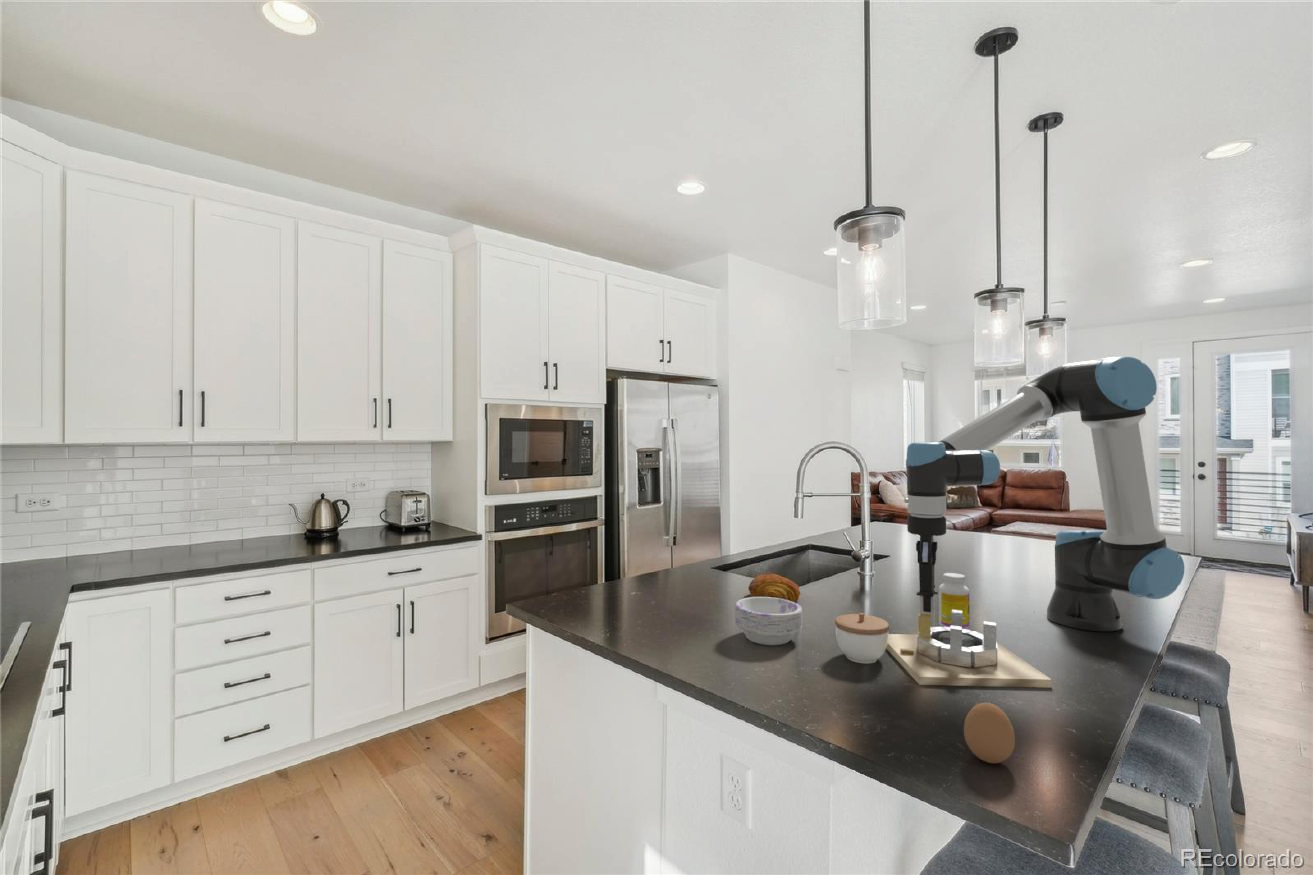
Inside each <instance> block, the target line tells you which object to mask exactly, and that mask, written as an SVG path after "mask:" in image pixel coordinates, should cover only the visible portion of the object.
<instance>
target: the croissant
mask: <svg viewBox="0 0 1313 875" xmlns="http://www.w3.org/2000/svg"><path fill="white" fill-rule="evenodd" d="M800 590H801V589H800V586H799V585H798V583H797V584H796V582H794V581H793V580H791V579H789V578H786V577H783V576H781V575H779V574H776V573H763V574H760V575H758V576H755V577H754V578H753V579H752V580H751V581H750V583H749V585H748V591H749V593H750V595H751V597H773V598H780V599H785V600H789V601H792V602H794V603H796V602H797V601H798V600H799V599H800V595H801V591H800Z"/></svg>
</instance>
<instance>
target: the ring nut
mask: <svg viewBox="0 0 1313 875" xmlns="http://www.w3.org/2000/svg"><path fill="white" fill-rule="evenodd" d="M982 628H983V630H982V632H983V633H981V632H979V631H975V630H972V631H971V630H970V629H968V630H966V629H962V611H960V610H952V625H951V626H950V627H944V628H943V627H941V626H940V625H939V626H935V627H931V615H926V614H920V613H918V633H917V635H918V636H917V651H919V653H921V654H923V655H925V656H927V657H929V658H931V659H933V660H935V661H937V662H938V661H941V663H946V664H953V665H959V666H965V667H971V666H973V667H982V666H989V665H995V664H996V663H997V643H998V641H997V623H996V622H993V621H985V620H984V621H983V627H982ZM946 632H950V645H948V644H944V643H942V642H939V635H940V634H941V633H946ZM962 634H965V635H968V636H970V637H972V638H973V639H974V646H973V647H962Z"/></svg>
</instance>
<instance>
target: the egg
mask: <svg viewBox="0 0 1313 875" xmlns="http://www.w3.org/2000/svg"><path fill="white" fill-rule="evenodd" d="M963 735H964V736H963V737H964V739H965V743H966V744H967V746H968V749H969V750H970V751H971V752H972V753H973V755H974V756H976V757H977V758H978V759H979V760H981V761H982V762H986V763H988V764H1000V763H1002V762H1004V761H1007V759H1009V758H1010V757H1011V756H1012V753H1013V751H1014V749H1015V746H1016V745H1015V744H1016V737H1015V736H1016V735H1015V731H1014V726H1013V725H1012V723H1011V721H1010V719H1009V717H1008V716H1007V714H1006V713H1005V711H1004V710H1003V709H1001V708H1000V706H997V705H996V704H994V703H990V702H981V703H978V704H975V705H974V706H973V707H972V708H971V709H970V710H969V712H968V713H967V715H966V716H965V720H964V724H963Z"/></svg>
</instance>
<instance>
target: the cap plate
mask: <svg viewBox="0 0 1313 875" xmlns="http://www.w3.org/2000/svg"><path fill="white" fill-rule="evenodd" d="M917 636H918V634H908V633H907V634H904V633H903V634H902V633H900V634H899V633H898V634H897V633H895V634H894V633H888V643H887V647H886V650H887V651H888V652H889V653H890V655H892V656H893V657H894V659H895V660H897V662H898V663H899V664H900V665H901V666H902V667H903V668H904V669H905V670H906V672H907V673H908V674H909V675H910V676H911V677H912V678H913V680H915V682H916V683H917V684H918V685H919V686H957V687H958V686H961V687H962V686H963V687H967V686H968V687H1005V688H1007V687H1008V688H1009V687H1011V688H1046V689H1047V688H1049V689H1050V688H1051V689H1052V688H1053V687H1052V686H1053V680H1052V678H1050V677H1049V676H1047V675H1046V674H1044V672H1041V671H1040V670H1038V669H1037V668H1035V667H1034V666H1033V665H1031V664H1030V663H1029V662H1026V660H1024V659H1022V658H1021V657H1019V656H1018V655H1016V654H1015V653H1013V652H1012V651H1011V650H1009V649H1007V648H1006V647H1004V646H1003V645H1001V644H1000V643H999V642H997V663H996V664H995V665H989V666H982V667H973V666H971V667H965V666H959V665H953V664H946V663H941V661H938V662H937V661H935V660H933V659H931V658H929V657H927V656H925V655H923V654H921V653H919V651H917Z"/></svg>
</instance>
